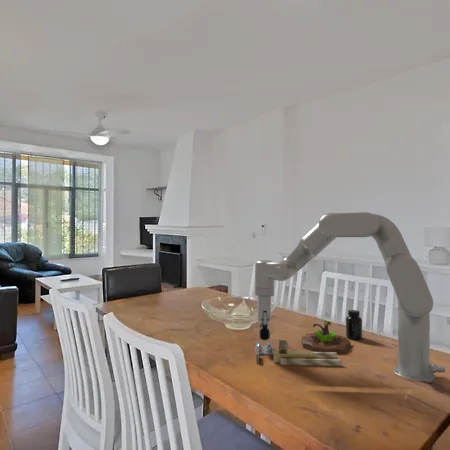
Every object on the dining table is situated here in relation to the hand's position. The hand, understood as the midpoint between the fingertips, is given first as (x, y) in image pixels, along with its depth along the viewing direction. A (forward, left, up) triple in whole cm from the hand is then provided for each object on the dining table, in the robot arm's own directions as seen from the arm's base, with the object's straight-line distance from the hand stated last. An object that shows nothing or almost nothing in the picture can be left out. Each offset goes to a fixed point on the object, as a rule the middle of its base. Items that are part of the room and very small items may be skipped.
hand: (264, 336), depth 142 cm
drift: (-10, +10, -6) cm, 16 cm away
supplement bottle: (-41, -19, -6) cm, 46 cm away
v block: (0, 0, -6) cm, 6 cm away
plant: (-26, -8, -7) cm, 28 cm away
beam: (-16, +10, -6) cm, 20 cm away
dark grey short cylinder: (+1, 0, +3) cm, 3 cm away
